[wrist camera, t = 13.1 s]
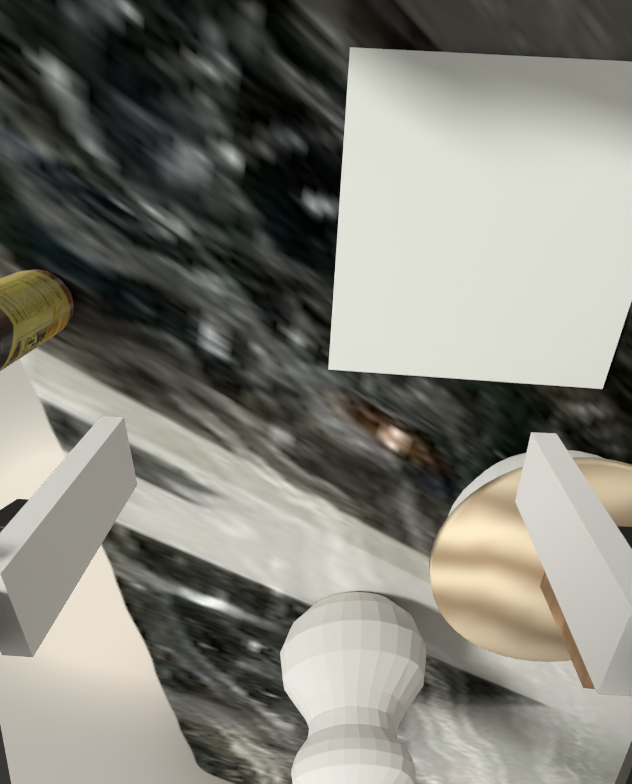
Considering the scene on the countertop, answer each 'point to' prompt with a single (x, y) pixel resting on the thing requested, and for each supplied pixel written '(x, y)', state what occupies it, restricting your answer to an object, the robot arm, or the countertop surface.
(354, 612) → the soap bottle
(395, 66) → the mat
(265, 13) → the countertop surface
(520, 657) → the lid
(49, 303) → the sauce bottle
